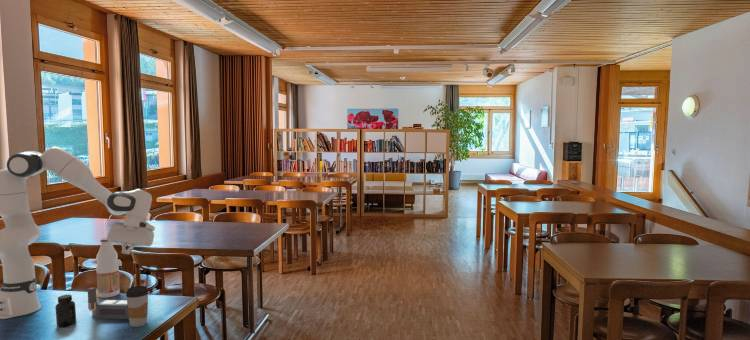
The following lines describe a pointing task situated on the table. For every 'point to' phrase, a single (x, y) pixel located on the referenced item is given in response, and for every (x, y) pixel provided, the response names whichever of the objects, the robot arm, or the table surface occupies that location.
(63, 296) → the supplement bottle
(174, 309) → the table surface
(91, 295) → the swing arm
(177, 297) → the table surface
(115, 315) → the box
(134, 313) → the coffee cup
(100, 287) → the fruit juice
